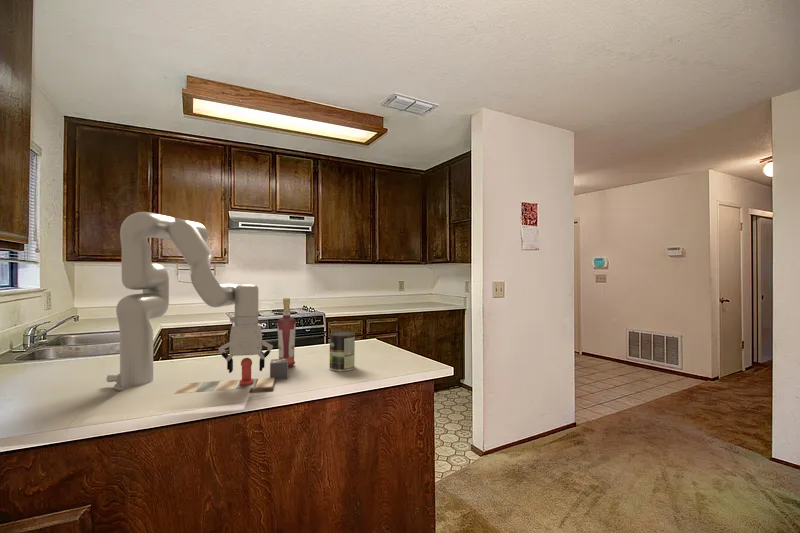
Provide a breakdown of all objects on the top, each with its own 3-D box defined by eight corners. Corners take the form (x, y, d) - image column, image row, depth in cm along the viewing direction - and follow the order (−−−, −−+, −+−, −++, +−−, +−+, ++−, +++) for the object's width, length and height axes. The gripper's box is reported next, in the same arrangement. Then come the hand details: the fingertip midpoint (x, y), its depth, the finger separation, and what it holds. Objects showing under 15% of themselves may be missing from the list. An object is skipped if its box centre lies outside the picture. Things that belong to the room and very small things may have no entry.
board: (172, 398, 120) (172, 394, 120) (183, 386, 132) (183, 382, 132) (273, 390, 127) (273, 386, 127) (275, 380, 139) (275, 376, 139)
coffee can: (331, 372, 149) (331, 336, 149) (327, 365, 159) (327, 331, 159) (357, 370, 152) (357, 334, 152) (352, 364, 162) (352, 330, 162)
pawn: (238, 386, 128) (238, 359, 128) (240, 382, 132) (240, 356, 132) (252, 385, 129) (252, 358, 129) (254, 381, 134) (254, 355, 134)
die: (270, 379, 139) (270, 363, 139) (271, 375, 145) (271, 359, 145) (287, 378, 141) (287, 362, 141) (287, 374, 147) (287, 358, 147)
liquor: (295, 368, 155) (295, 299, 155) (276, 369, 154) (276, 299, 154) (296, 363, 163) (296, 297, 162) (277, 364, 161) (277, 297, 161)
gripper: (216, 323, 125) (216, 375, 125) (272, 321, 129) (271, 372, 129) (221, 319, 132) (220, 369, 132) (273, 318, 137) (273, 366, 137)
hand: (246, 370), depth 131 cm, fingers open, 9 cm apart
